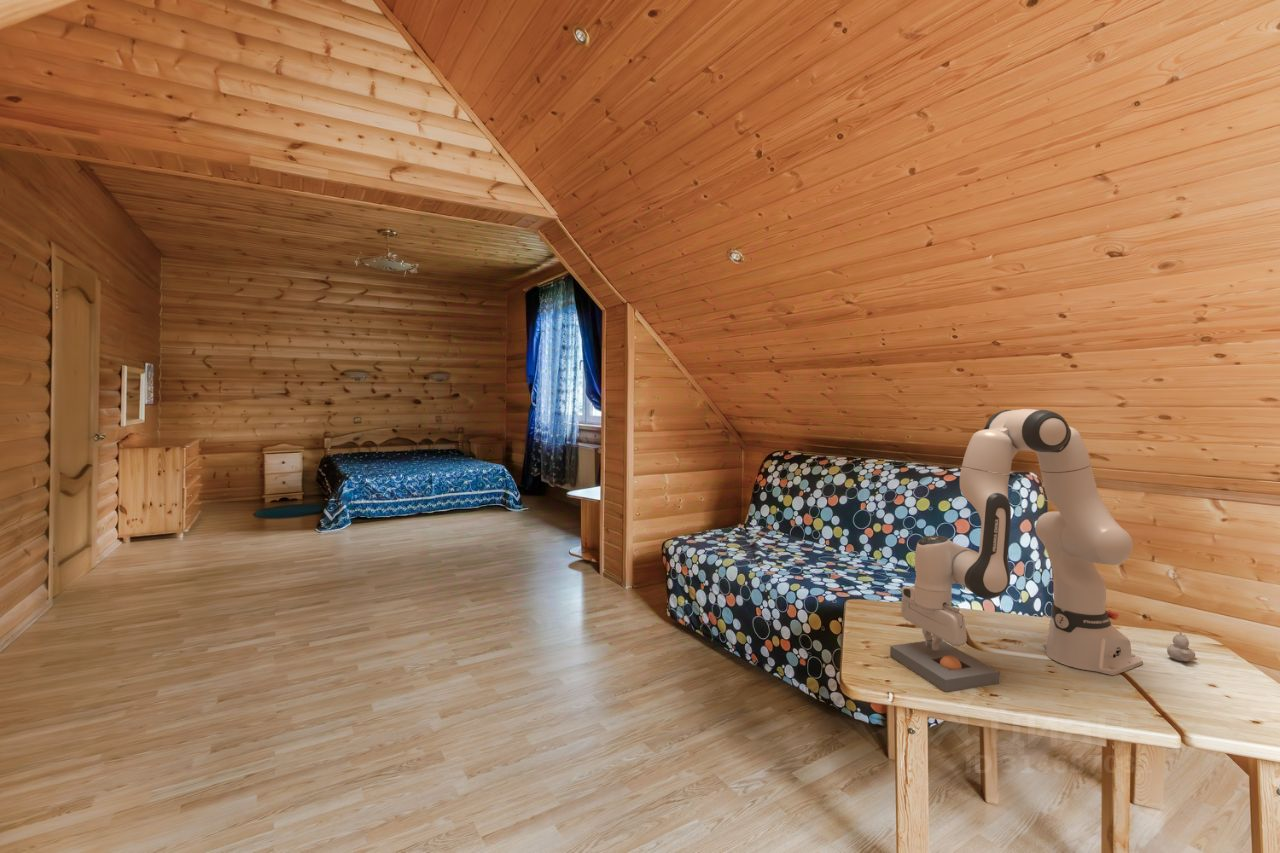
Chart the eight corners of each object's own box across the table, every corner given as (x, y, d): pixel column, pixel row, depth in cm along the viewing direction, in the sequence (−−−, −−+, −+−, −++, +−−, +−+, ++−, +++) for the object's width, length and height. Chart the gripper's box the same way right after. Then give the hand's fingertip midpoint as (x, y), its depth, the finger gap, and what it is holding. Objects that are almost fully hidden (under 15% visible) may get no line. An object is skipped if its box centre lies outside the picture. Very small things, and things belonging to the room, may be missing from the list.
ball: (968, 676, 144) (954, 677, 148) (963, 654, 146) (949, 656, 150) (951, 676, 143) (937, 677, 147) (947, 654, 145) (933, 656, 149)
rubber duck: (1188, 657, 155) (1189, 628, 155) (1200, 668, 149) (1201, 638, 149) (1162, 654, 157) (1163, 625, 157) (1173, 664, 151) (1174, 634, 151)
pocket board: (939, 649, 162) (939, 639, 162) (999, 683, 142) (999, 671, 142) (890, 656, 158) (890, 645, 158) (945, 692, 139) (945, 679, 138)
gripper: (973, 609, 144) (973, 663, 144) (916, 584, 163) (916, 632, 164) (952, 612, 142) (951, 666, 143) (897, 586, 162) (896, 634, 163)
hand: (932, 648), depth 154 cm, fingers closed
